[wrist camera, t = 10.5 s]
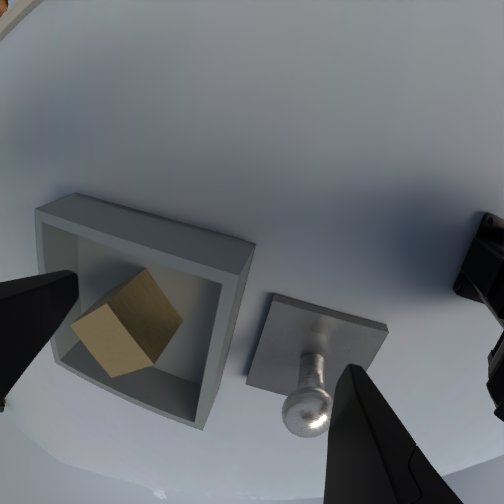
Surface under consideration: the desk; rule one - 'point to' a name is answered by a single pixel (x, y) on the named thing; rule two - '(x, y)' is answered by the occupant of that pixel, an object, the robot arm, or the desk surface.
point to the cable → (2, 406)
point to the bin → (170, 282)
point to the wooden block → (128, 325)
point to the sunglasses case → (3, 6)
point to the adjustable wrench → (16, 15)
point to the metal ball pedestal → (310, 359)
